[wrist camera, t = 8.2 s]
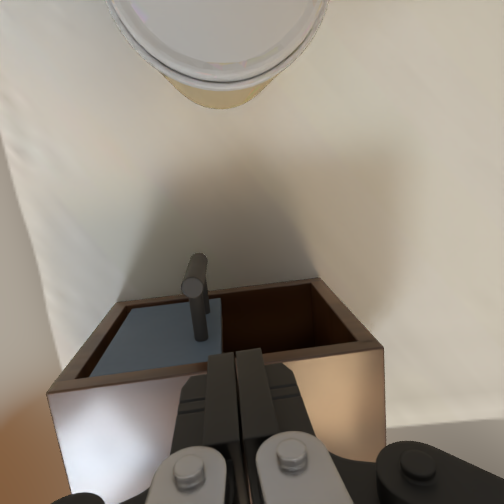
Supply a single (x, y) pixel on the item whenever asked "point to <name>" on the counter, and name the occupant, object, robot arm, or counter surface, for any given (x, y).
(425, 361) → the counter surface
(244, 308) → the cupboard
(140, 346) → the sliding lid with handle
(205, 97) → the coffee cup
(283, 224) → the counter surface
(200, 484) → the robot arm
